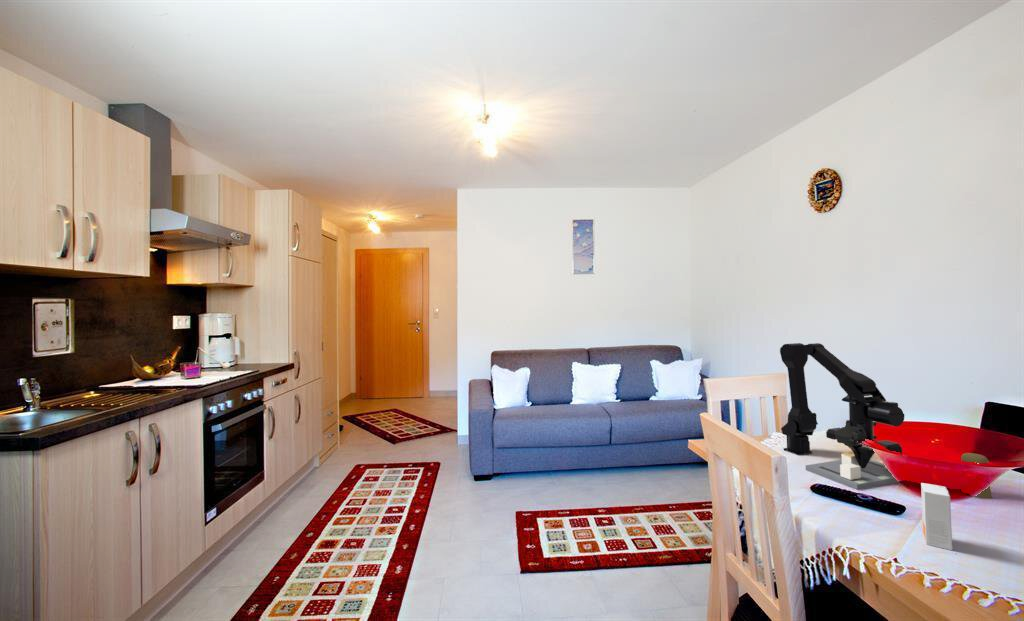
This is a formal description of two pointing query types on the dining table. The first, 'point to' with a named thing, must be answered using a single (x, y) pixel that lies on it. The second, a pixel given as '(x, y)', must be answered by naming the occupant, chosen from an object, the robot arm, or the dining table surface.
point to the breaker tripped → (849, 458)
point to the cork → (978, 459)
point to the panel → (869, 478)
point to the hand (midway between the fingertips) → (862, 467)
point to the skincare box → (936, 516)
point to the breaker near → (850, 471)
